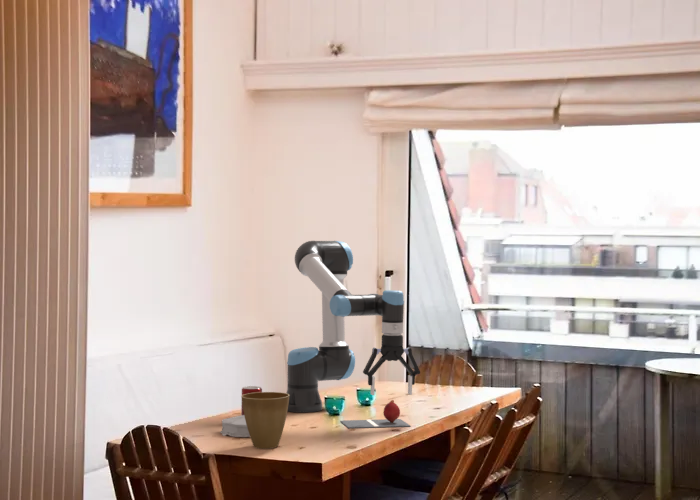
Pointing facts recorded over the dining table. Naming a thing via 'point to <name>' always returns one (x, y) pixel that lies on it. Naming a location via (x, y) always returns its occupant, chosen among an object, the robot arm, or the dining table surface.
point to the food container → (235, 427)
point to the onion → (391, 411)
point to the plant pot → (265, 417)
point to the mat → (374, 423)
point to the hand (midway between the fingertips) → (391, 394)
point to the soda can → (249, 390)
